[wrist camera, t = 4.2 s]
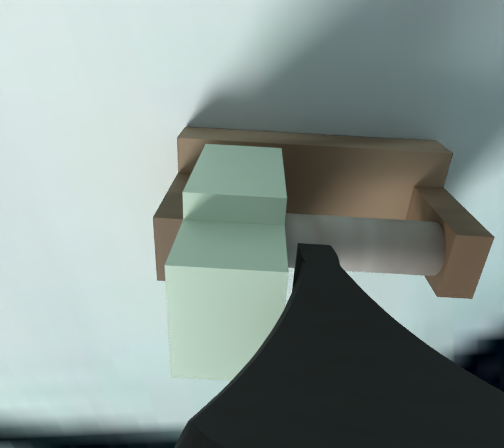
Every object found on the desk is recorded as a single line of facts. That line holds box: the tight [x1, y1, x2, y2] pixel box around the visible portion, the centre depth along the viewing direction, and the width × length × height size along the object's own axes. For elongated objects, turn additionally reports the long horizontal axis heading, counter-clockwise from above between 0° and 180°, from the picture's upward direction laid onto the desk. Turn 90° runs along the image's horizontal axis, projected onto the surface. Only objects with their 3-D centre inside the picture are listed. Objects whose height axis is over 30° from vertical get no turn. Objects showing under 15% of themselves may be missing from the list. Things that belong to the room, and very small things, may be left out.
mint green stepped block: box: [165, 144, 289, 381], centre depth 11 cm, size 2×4×6 cm, turn 178°
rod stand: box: [153, 127, 494, 299], centre depth 14 cm, size 9×4×5 cm, turn 88°
